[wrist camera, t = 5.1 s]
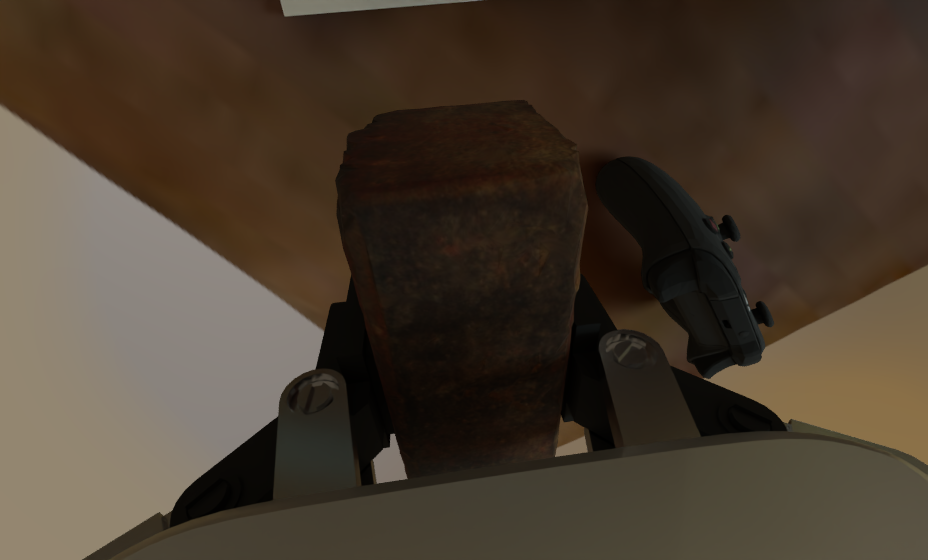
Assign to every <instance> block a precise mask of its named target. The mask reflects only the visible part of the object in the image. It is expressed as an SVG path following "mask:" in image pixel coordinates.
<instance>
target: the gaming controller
mask: <svg viewBox="0 0 928 560" xmlns="http://www.w3.org/2000/svg"><path fill="white" fill-rule="evenodd" d="M596 191H597V194H598V196H599V198H600V200H601V202H602V203H603V205H604V206H605V207H606V208H607V209H608V211H609V212H610V213H611V214H612V215H613V216H614V217H615V218H616V219H617V220H618V221H619V222H620V223H621V224H622V225H623V226H624V227H625V229H626V230H627V231H628V232H629V233H630V234H631V235H632V236H633V237H634V238H635V239H636V241H637V242H638V244H639V245H640V246H641V248H642V251H643V260H642V270H641V276H642V282H643V286H644V288H645V289H646V290H647V291H648V292H649V293H651V294H653V295H654V296H655V297H656V298H657V299H658V301H659V302H660V304H661V306H662V307H663V309H664V310H665V311H666V312H667V314H668V315H669V316H670V317H671V318H672V319H673V320H674V321H675V322H677V323H678V324H679V325H680V326H681V327H682V328H683V329H684V330H685V331H686V332H688V334H689V340H688V347H687V361H688V362H689V363H692V364H694V365H695V367H696V368H697V370H698V372H699V373H700V374H701V375H702V376H703V377H704V378H708V379H710V378H711V377H712V376H713V375H715V374H716V373H717V372H719V371H721V370H723V369H725V368H727V367H729V366H732V365H735V364H738V365H739V366H748V365H752V364H755V363H758V362H759V361H760V360H761V358H762V356H761V354H762V352H763V350H764V349H765V342H764V339H763V336H762V334H761V331H760V329H759V327H758V325H757V324H761V323H764V324H765V325H766V326H767V327H772V326H773V325H774V321H773V319H772V316H771V314H770V312H769V310H768V308H767V306H766V305H765V304H764V303H763V302H762V301H759V302H757V303H756V307H757V308H755V309H752V310H751V309H750V307H749V304H748V301H747V299H746V293H745V291H744V290H743V288H742V287H741V278H740V276H739V274H738V271H737V269H736V267H735V266H734V264H733V262H732V260H731V259H732V258H733V252H732V250H731V248H730V247H729V246H728V244H727V243H726V242H724V241H723V240H725V239H727V238H731V240H732V241H736V242H737V241H739V239H740V233H739V230H738V228H737V226H736V224H735V222H734V220H733V219H732V217H731V216H729V215H725V216H723V218H722V221H723V223H722V224H719V225H717V224H716V223H715V221H714V219H713V217H710V216H707V215H705V214H704V213H703V211H702V210H701V208H700V207H699V206H698V204H697V203H696V202H695V201H694V200H693V199H692V198H691V197H690V196H689V194H688V193H687V192H686V191H685V190H684V189H683V188H682V187H681V186H680V185H679V184H678V183H677V182H676V181H675V180H674V179H672V178H671V177H670V176H669V175H668V174H667V173H665V172H664V171H663V170H661V169H660V168H658V167H657V166H655V165H654V164H652V163H650V162H648V161H645V160H643V159H641V158H637V157H621V158H617V159H615V160H613V161H611V162H609V163H608V164H606V165H605V166H604V167H603V168H602V169H601V171H600V172H599V173H598V176H597V180H596Z"/></svg>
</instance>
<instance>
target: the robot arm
mask: <svg viewBox="0 0 928 560" xmlns="http://www.w3.org/2000/svg"><path fill="white" fill-rule="evenodd" d="M561 416H562V418H563V421H564V422H569V421H574V422H576V423H578V424H579V425H581V426H583V427H584V434H585V439H586V445H587V450H588V452H587V453H580V454H573V455H566V456H560V457H552V458H545V459H539V460H532V461H525V462H518V463H511V464H505V465H498V466H491V467H484V468H478V469H471V470H464V471H458V472H451V473H444V474H437V475H431V476H424V477H418V478H411V479H405V480H399V481H392V482H385V483H379V484H377V482H376V476H375V469H374V462H373V459H374V458H375V457H376V456H377V455H378V454H379V452H381V451H382V450H383V448H387V447H390V434H395V432H394V428H393V424H392V420H391V416H390V412H389V409H388V406H387V402H386V399H385V395H384V391H383V388H382V384H381V380H380V377H379V373H378V370H377V367H376V363H375V359H374V355H373V351H372V348H371V344H370V341H369V338H368V334H367V331H366V326H365V321H364V315H363V313H362V310H361V307H360V305H359V301H358V297H357V293H356V289H355V286H354V282H353V278H352V274H351V279H350V284H349V290H348V295H347V301H346V302H339V303H333V304H331V307H330V310H329V314H328V319H327V323H326V327H325V331H324V336H323V340H322V344H321V349H320V353H319V357H318V362H317V366H316V370H311V371H309V372H306V373H303V374H302V375H300V376H298V377H297V378H295V379H294V380H293V381H292V382H291V383H289V385H287V386H286V388H285V390H284V391H283V393H282V394H281V398H280V402H279V415H278V417H277V418H276V419H274V420H273V421H271V422H270V423H269V424H268V425H266V426H265V427H264V428H262V429H261V430H260V431H259V432H257V433H256V434H255V435H253V436H252V437H251V438H250V439H248V440H247V441H246V442H245V443H243V444H242V445H241V446H240V447H238V448H237V449H235V450H234V451H233V452H232V453H230V454H229V455H228V456H227V457H225V458H224V459H223V460H221V461H220V462H219V463H218V464H216V465H215V466H214V467H212V468H211V469H210V470H208V471H207V472H206V473H205V474H203V475H202V476H201V477H199V478H198V479H197V480H196V481H195V482H193V483H192V484H191V485H190V486H189V487H188V488H187V489H186V490H185V491H184V492H183V494H182V495H181V496H180V498H179V499H178V501H177V502H176V504H175V506H174V508H173V510H172V511H171V512H169V513H168V514H166V515H164V516H163V515H162V514H161V513H160V512H159V513H157V514H155V515H154V516H152V517H150V518H149V519H147V520H146V521H144V522H142V523H141V524H139V525H137V526H136V527H134V528H133V529H131V530H129V531H128V532H126V533H125V534H123V535H121V536H120V537H118V538H116V539H115V540H113V541H112V542H110V543H108V544H107V545H105V546H103V547H102V548H100V549H99V550H97V551H95V552H94V553H92V554H91V555H89V556H87V557H86V558H84V559H82V560H928V465H926V464H924V463H923V462H921V461H920V460H918V459H917V458H915V457H913V456H911V455H909V454H906V453H904V452H901V451H899V450H896V449H892V448H889V447H885V446H882V445H879V444H875V443H872V442H868V441H865V440H861V439H858V438H855V437H851V436H848V435H844V434H841V433H838V432H834V431H831V430H827V429H824V428H820V427H817V426H814V425H810V424H807V423H803V422H800V421H796V420H793V419H791V420H790V421H789V423H784V422H782V421H781V419H780V418H779V417H778V416H777V415H776V414H775V413H774V412H772V411H771V410H769V409H768V408H767V407H766V406H764V405H762V404H760V403H758V402H756V401H754V400H752V399H750V398H747V397H745V396H742V395H740V394H738V393H735V392H733V391H730V390H728V389H726V388H723V387H721V386H718V385H716V384H714V383H711V382H709V381H706V380H704V379H701V378H699V377H697V376H694V375H692V374H689V373H687V372H685V371H682V370H680V369H677V368H675V367H672V366H670V365H669V363H668V360H667V358H666V356H665V353H664V351H663V350H662V348H661V347H660V345H659V344H658V343H657V342H656V341H655V340H654V339H652V338H651V337H649V336H647V335H645V334H644V333H641V332H637V331H634V330H626V329H621V330H617V329H616V327H615V325H614V324H613V322H612V321H611V319H610V317H609V316H608V314H607V312H606V311H605V309H604V308H603V306H602V304H601V303H600V301H599V300H598V298H597V296H596V295H595V293H594V291H593V290H592V288H591V287H590V285H589V283H588V282H587V280H586V279H585V277H584V276H583V275H582V274H580V285H579V289H578V291H577V292H576V296H575V301H574V323H573V325H572V328H571V341H570V351H569V358H568V364H567V371H566V379H565V387H564V394H563V401H562V410H561Z"/></svg>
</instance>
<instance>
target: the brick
mask: <svg viewBox="0 0 928 560" xmlns="http://www.w3.org/2000/svg"><path fill="white" fill-rule="evenodd" d="M576 148H577V145H576V144H575V143H573V142H572V141H570V140H568V139H566V138H565V137H564V136H563V135H562V134H561V133H560V132H559V130H558V129H557V128H555V127H554V126H553V125H552V124H550V123H549V122H547V121H546V120H545V119H544V118H543V117H542V116H541V115H540V114H538V113H536V111H535V109H534V108H533V107H532V105H529V104H528V102H527V101H525V100H516V101H501V102H491V103H481V104H470V105H460V106H441V107H432V108H424V109H411V110H397V111H393V112H388V113H384V114H380V115H377V116H375V117H374V119H373V121H372V123H371V124H367V126H366V127H365V128H364V129H362V130H357V131H354V132H351V133H349V134H348V136H347V151H344V156H343V164H341V165H340V170H339V173H338V175H337V177H336V180H335V181H336V187H337V192H338V199H337V219H338V224H339V229H340V234H341V239H342V244H343V249H344V252H345V255H346V258H347V261H348V264H349V267H350V270H351V274H352V278H353V282H354V286H355V289H356V293H357V297H358V301H359V305H360V307H361V310H362V313H363V315H364V321H365V326H366V331H367V334H368V338H369V341H370V344H371V348H372V351H373V355H374V359H375V363H376V367H377V370H378V373H379V377H380V380H381V384H382V388H383V391H384V395H385V399H386V402H387V406H388V409H389V412H390V416H391V420H392V424H393V428H394V432H395V436H396V440H397V443H398V446H399V450H400V454H401V457H402V460H403V463H404V465H405V472H406V474H407V478H408V479H411V478H418V477H424V476H431V475H437V474H444V473H451V472H458V471H464V470H471V469H478V468H484V467H491V466H498V465H505V464H511V463H518V462H525V461H532V460H539V459H545V458H552V457H555V454H556V448H557V443H558V434H559V424H560V416H561V410H562V401H563V394H564V387H565V379H566V371H567V364H568V358H569V351H570V341H571V328H572V325H573V323H574V301H575V296H576V292H577V291H578V289H579V285H580V257H581V250H582V243H583V236H584V229H585V224H586V218H587V213H588V204H587V197H586V194H585V190H584V185H583V180H582V174H581V169H580V164H579V151H576Z"/></svg>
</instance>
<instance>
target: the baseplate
mask: <svg viewBox="0 0 928 560" xmlns="http://www.w3.org/2000/svg"><path fill="white" fill-rule="evenodd" d="M468 1H480V0H280V2H281V5H282V9H283V13H284V16H297V15H309V14H322V13H334V12H346V11H358V10H370V9H383V8H395V7H407V6H419V5H431V4H444V3H456V2H468Z"/></svg>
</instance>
